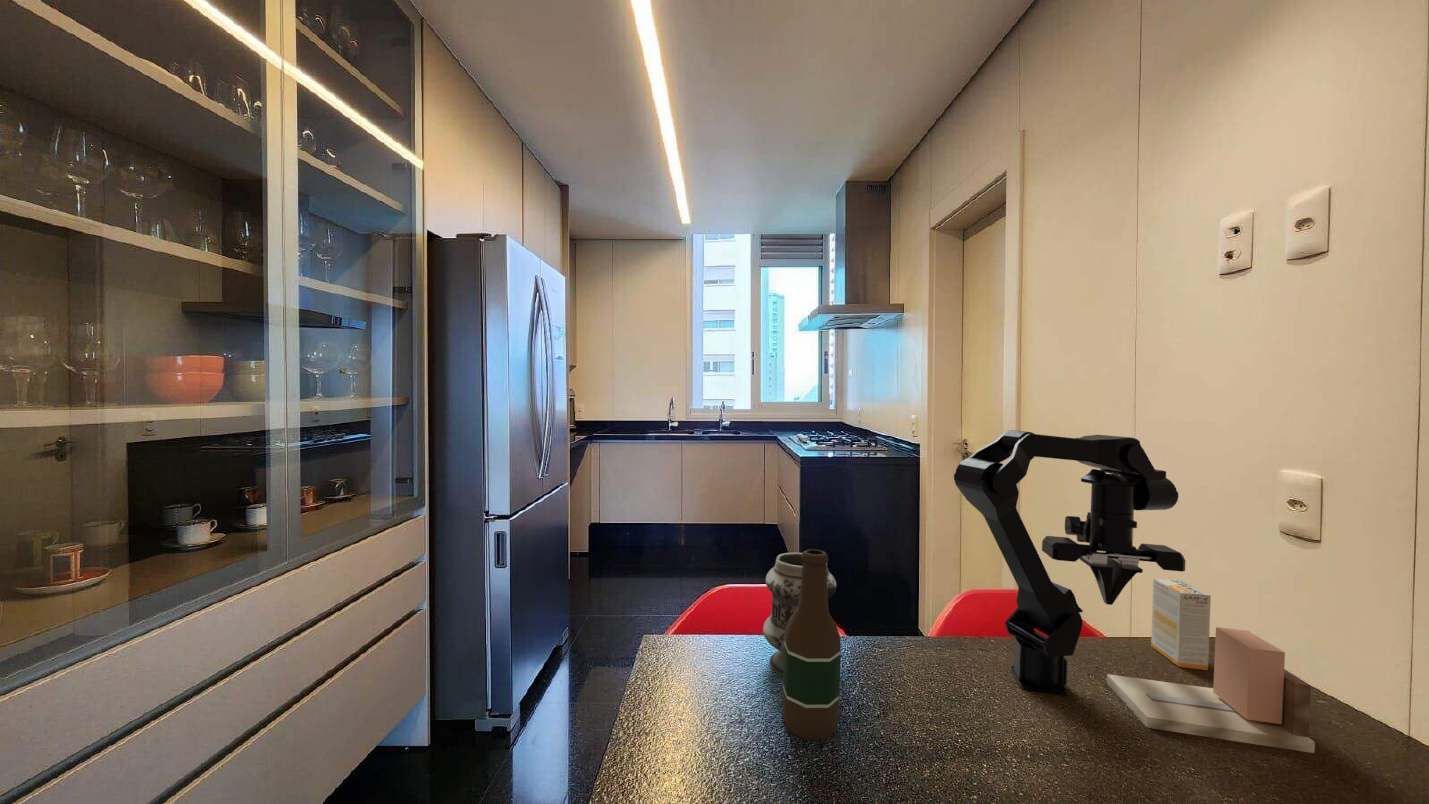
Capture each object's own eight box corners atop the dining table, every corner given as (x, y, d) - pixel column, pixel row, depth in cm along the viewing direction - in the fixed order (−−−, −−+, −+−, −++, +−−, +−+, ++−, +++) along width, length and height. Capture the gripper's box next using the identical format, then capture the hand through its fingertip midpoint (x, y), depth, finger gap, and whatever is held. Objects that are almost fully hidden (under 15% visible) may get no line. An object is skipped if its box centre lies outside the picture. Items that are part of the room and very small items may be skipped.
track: (1146, 727, 75) (1149, 667, 75) (1106, 683, 87) (1108, 631, 87) (1314, 753, 70) (1317, 689, 70) (1248, 702, 82) (1250, 648, 82)
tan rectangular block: (1246, 719, 74) (1249, 648, 74) (1213, 692, 81) (1215, 627, 81) (1281, 724, 73) (1284, 652, 73) (1245, 696, 80) (1247, 630, 80)
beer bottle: (841, 715, 76) (846, 547, 76) (835, 749, 69) (840, 563, 68) (787, 703, 79) (792, 541, 78) (775, 734, 71) (781, 556, 71)
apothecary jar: (825, 648, 96) (828, 549, 96) (843, 685, 84) (847, 571, 84) (758, 647, 96) (761, 547, 95) (767, 684, 84) (770, 570, 83)
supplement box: (1210, 671, 92) (1213, 595, 91) (1177, 667, 93) (1180, 592, 92) (1178, 649, 100) (1181, 579, 100) (1149, 646, 101) (1152, 577, 101)
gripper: (1150, 505, 94) (1147, 593, 95) (1033, 497, 99) (1030, 581, 99) (1189, 519, 84) (1185, 618, 84) (1055, 510, 88) (1052, 603, 89)
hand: (1108, 603), depth 89 cm, fingers closed
